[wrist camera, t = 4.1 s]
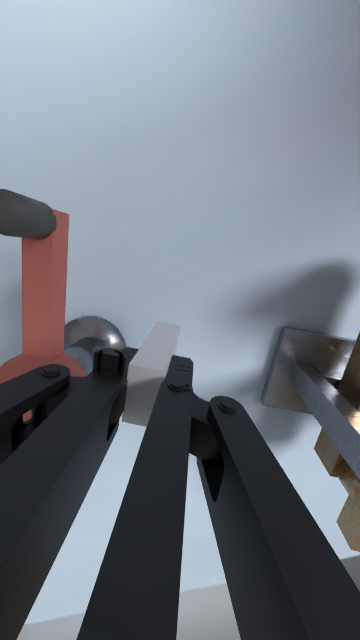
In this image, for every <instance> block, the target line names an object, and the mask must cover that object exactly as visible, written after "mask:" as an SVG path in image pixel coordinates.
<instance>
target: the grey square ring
mask: <svg viewBox="0 0 360 640" xmlns="http://www.w3.org/2000/svg"><path fill="white" fill-rule="evenodd" d="M355 342H356V340H353V339H347V338H342V337H337V336H331V335H326V334H320V333H315V332H310V331H304V330H299V329H293V328H288V327H283V328H282V331H281V334H280V338H279V341H278V344H277V348H276V351H275V354H274V358H273V361H272V364H271V368H270V371H269V374H268V378H267V381H266V385H265V388H264V391H263V395H262V398H261V401H262V403H263V404H264V405H269V406H274V407H279V408H284V409H289V410H294V411H299V412H304V413H309V414H313V415H314V417H315V418H316V420H317V421H318V422H319V424H320V425H321V427H322V428H323V429H324V431H325V432H326V434H327V435H328V436H329V438H330V439H331V441H332V442H333V443H334V445H335V446H336V448H337V449H338V450H339V452H340V453H341V455H342V456H343V457H344V459H345V460H346V462H347V463H348V464H349V466H350V467H351V469H352V470H353V471H354V473H355V474H356V476H357V477H358V478H359V480H360V413H359V412H358V411H357V410H356V409H355V408H354V407H353V406H352V405H351V404H350V403H349V402H348V401H347V400H346V399H345V398H344V397H343V396H342V395H341V394H340V393H339V392H338V391H337V388H338V386H339V383H340V381H341V378H342V376H343V373H344V371H345V368H346V365H347V363H348V360H349V358H350V355H351V353H352V350H353V348H354V345H355Z"/></svg>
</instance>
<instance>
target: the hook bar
mask: <svg viewBox="0 0 360 640" xmlns="http://www.w3.org/2000/svg"><path fill="white" fill-rule="evenodd" d="M337 391H338V392H339V393H340V394H341V395H342V396H343V397H344V398H345V399H346V400H347V401H348V402H349V403H350V404H351V405H352V406H353V407H354V408H355V409H356V410H357V411H358V412H359V413H360V332H359V335H358V337H357V340H356V342H355V345H354V348H353V350H352V353H351V355H350V358H349V360H348V363H347V365H346V368H345V371H344V373H343V376H342V378H341V381H340V383H339V386H338V388H337ZM314 450H315V451H316V453H317V455H318V456H319V458H320V460H321V461H322V463H323V465H324V467H325V468H326V470H327V472H328V473H329V475H330V476H333V477H338V478H339V480H340V481H341V483H342V485H343V486H344V488H345V489H346V491H347V493H348V494H349V496H348V498H347V500H346V502H345V504H344V506H343V508H342V511H341V513H340V515H339V517H338V519H337V521H336V522H337V523H338V525H339V527H340V529H341V531H342V533H343V535H344V537H345V539H346V541H347V543H348V545H349V547H350V549H351V550H355V551H359V552H360V480H359V478H358V477H357V476H356V474H355V473H354V471H353V470H352V469H351V467H350V466H349V464H348V463H347V462H346V460H345V459H344V457H343V456H342V455H341V453H340V452H339V450H338V449H337V448H336V446H335V445H334V443H333V442H332V441H331V439H330V438H329V436H328V435H327V434H326V432H325V431H324V429H323V428H322V429H321V432H320V434H319V437H318V439H317V442H316V445H315V447H314Z"/></svg>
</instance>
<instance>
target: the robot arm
mask: <svg viewBox="0 0 360 640" xmlns="http://www.w3.org/2000/svg"><path fill="white" fill-rule="evenodd" d="M179 328H180V326H176V325H171V324H166V323H160V322H157V324H156V325H155V327H154V328H153V330H152V331H151V333H150V334H149V336H148V337H147V339H146V340H145V341H144V343H143V344H142V346H141V347H140V349H135V348H130V347H126V348H124V349H121V350H119V349H115V348H102V349H98V350H96V351H94V361H93V370H92V371H91V372H90V373H89V374H88V375H87V376H83V377H76V376H70V369H69V368H68V367H66V366H63V365H59V364H50V365H44V366H41V367H38V368H35V369H33V370H31V371H29V372H26V373H24V374H22V375H20V376H17V377H15V378H13V379H11V380H8V381H6V382H4V383H2V384H0V640H16V639H17V637H18V635H19V633H20V631H21V629H22V627H23V625H24V623H25V621H26V619H27V617H28V615H29V612H30V610H31V608H32V606H33V604H34V602H35V600H36V598H37V596H38V594H39V592H40V590H41V588H42V586H43V584H44V581H45V579H46V577H47V575H48V573H49V571H50V569H51V567H52V565H53V563H54V561H55V559H56V557H57V555H58V552H59V550H60V548H61V546H62V544H63V542H64V540H65V538H66V536H67V534H68V532H69V530H70V528H71V526H72V523H73V521H74V519H75V517H76V515H77V513H78V511H79V509H80V507H81V505H82V503H83V501H84V499H85V497H86V495H87V492H88V490H89V488H90V486H91V484H92V482H93V480H94V478H95V476H96V474H97V472H98V470H99V468H100V466H101V463H102V461H103V459H104V457H105V455H106V453H107V451H108V449H109V447H110V445H111V443H112V441H113V439H114V437H115V434H116V432H117V430H118V426H119V419H120V417H121V415H122V413H123V416H122V422H127V423H132V424H136V425H141V426H146V430H145V434H144V437H143V440H142V443H141V446H140V449H139V452H138V455H137V458H136V461H135V464H134V467H133V470H132V473H131V476H130V479H129V482H128V485H127V488H126V491H125V494H124V497H123V500H122V504H121V507H120V510H119V513H118V516H117V519H116V522H115V525H114V528H113V531H112V534H111V537H110V540H109V543H108V546H107V549H106V552H105V555H104V558H103V561H102V564H101V567H100V570H99V574H98V577H97V580H96V583H95V586H94V589H93V592H92V595H91V598H90V601H89V604H88V607H87V610H86V613H85V616H84V619H83V622H82V625H81V628H80V631H79V634H78V637H77V640H176V634H177V620H178V619H177V618H178V604H179V590H180V575H181V560H182V546H183V531H184V516H185V501H186V487H187V472H188V457H189V453H190V454H192V455H194V456H196V457H197V465H198V469H199V473H200V477H201V481H202V485H203V489H204V493H205V497H206V501H207V505H208V509H209V513H210V517H211V521H212V525H213V529H214V533H215V537H216V541H217V545H218V549H219V553H220V557H221V561H222V565H223V569H224V573H225V577H226V581H227V585H228V589H229V593H230V597H231V601H232V605H233V609H234V613H235V617H236V621H237V626H238V630H239V633H240V637H241V640H360V591H359V590H358V588H357V586H356V585H355V583H354V582H353V580H352V579H351V577H350V575H349V574H348V572H347V571H346V569H345V567H344V566H343V564H342V563H341V561H340V560H339V558H338V556H337V555H336V553H335V552H334V550H333V548H332V547H331V545H330V544H329V542H328V540H327V539H326V537H325V536H324V534H323V533H322V531H321V529H320V528H319V526H318V525H317V523H316V521H315V520H314V518H313V517H312V515H311V514H310V512H309V510H308V509H307V507H306V506H305V504H304V502H303V501H302V499H301V498H300V496H299V494H298V493H297V491H296V490H295V488H294V487H293V485H292V483H291V482H290V480H289V479H288V477H287V475H286V474H285V472H284V471H283V469H282V467H281V466H280V464H279V463H278V461H277V460H276V458H275V456H274V455H273V453H272V452H271V450H270V448H269V447H268V445H267V444H266V442H265V441H264V439H263V437H262V436H261V434H260V433H259V431H258V429H257V428H256V426H255V425H254V423H253V421H252V420H251V418H250V417H249V415H248V414H247V412H246V410H245V409H244V407H243V406H242V405H241V404H240V403H239V402H237V401H236V400H234V399H232V398H230V397H224V396H216V397H214V398H212V399H211V400H210V402H207V401H205V400H203V399H201V398H199V397H198V396H196V395H195V394H194V392H193V388H192V377H193V362H192V360H191V359H190V358H185V357H180V356H175V351H176V345H177V339H178V334H179ZM30 410H31V418H30V419H29V420H27V421H25V422H23V414H25V413H27V412H28V411H30Z"/></svg>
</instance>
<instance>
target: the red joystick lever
mask: <svg viewBox="0 0 360 640" xmlns="http://www.w3.org/2000/svg"><path fill="white" fill-rule="evenodd" d="M68 228H69V214H66V213H62V212H59V211H56V210H53V209H51V208H50V207H49V206H48V205H47V204H45V203H43V202H40V201H37V200H35V199H32V198H29V197H26V196H23V195H20V194H18V193H15V192H12V191H9V190H6V189H0V234H2V235H6V236H14V237H22V328H23V353H22V354H20V355H18V356H17V357H15V358H13V359H11V360H9V361H7V362H6V363H4V364H3V365H2V366H1V367H0V384H2V383H4V382H6V381H8V380H11V379H13V378H15V377H17V376H20V375H22V374H24V373H26V372H29V371H31V370H33V369H35V368H38V367H41V366H44V365H50V364H59V365H63V366H66V367H68V368H69V369H70V376H76V377H83V376H87V375H86V372H85V371H84V369H83V367H82V366H81V365H80V364H79V363H78V361H77V360H76V359H74V358H73V357H72V356H71V355H69V354H68V353H66V352H64V351H63V350H64V325H65V301H66V277H67V252H68ZM30 418H31V410H30V411H28V412H27V413H25V414H23V422H25V421H27V420H29V419H30Z"/></svg>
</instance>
